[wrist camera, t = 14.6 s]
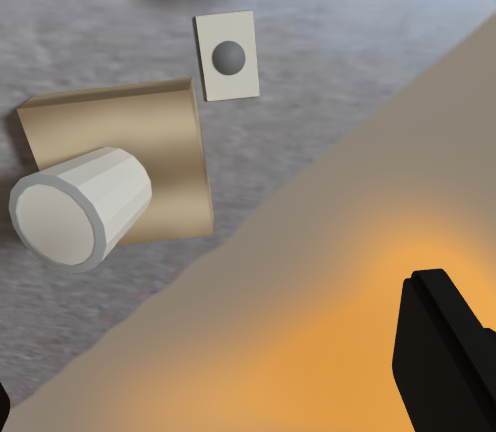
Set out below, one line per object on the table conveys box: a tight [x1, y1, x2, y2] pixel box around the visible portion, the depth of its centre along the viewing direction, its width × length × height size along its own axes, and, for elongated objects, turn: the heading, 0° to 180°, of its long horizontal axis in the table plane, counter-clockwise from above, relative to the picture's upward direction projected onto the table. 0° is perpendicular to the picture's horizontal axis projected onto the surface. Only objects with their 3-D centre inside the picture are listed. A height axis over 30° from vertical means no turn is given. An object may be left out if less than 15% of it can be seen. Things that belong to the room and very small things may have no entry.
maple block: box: [16, 78, 214, 246], centre depth 36 cm, size 12×12×4 cm
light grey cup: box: [9, 147, 152, 274], centre depth 30 cm, size 7×7×7 cm
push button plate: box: [196, 10, 260, 101], centre depth 33 cm, size 6×4×1 cm, turn 5°
